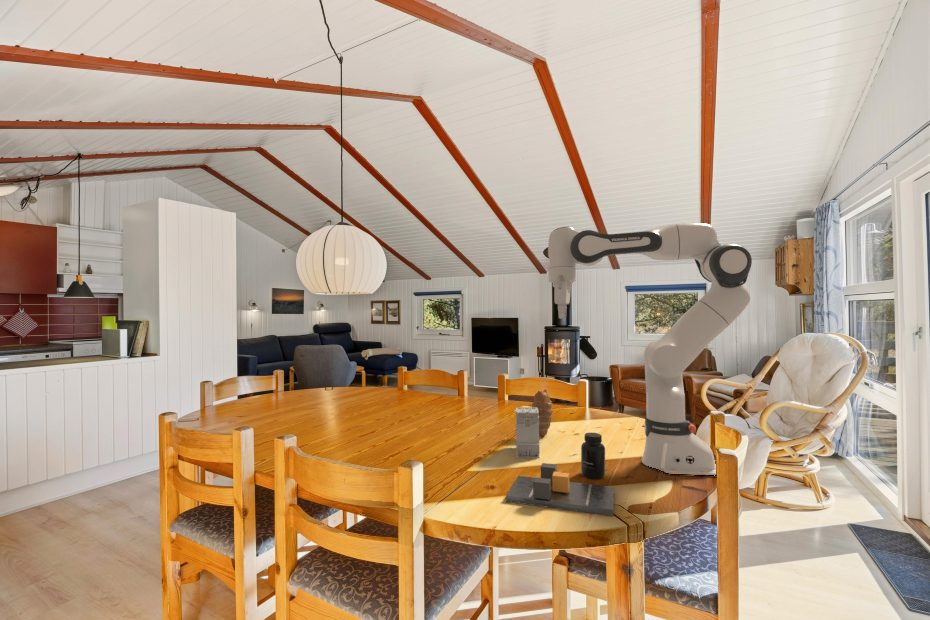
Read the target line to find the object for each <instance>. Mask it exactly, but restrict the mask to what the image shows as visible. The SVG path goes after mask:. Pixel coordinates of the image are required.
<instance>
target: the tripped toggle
mask: <svg viewBox="0 0 930 620" xmlns="http://www.w3.org/2000/svg"><path fill="white" fill-rule="evenodd" d="M569 482H570V473H569V472H561V471H557V472H554V473H553V475H552V489H553V491H557V492H565V493H568V492H569V489H570V485H569Z"/></svg>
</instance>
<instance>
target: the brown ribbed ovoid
mask: <svg viewBox="0 0 930 620" xmlns="http://www.w3.org/2000/svg"><path fill="white" fill-rule="evenodd" d="M547 392H548V391H547V388H544V390H541V391H540V390H538V391H537V392H536V393H535V394H534V396H533V401H532V403H531V407H537V408H538V411H539V437H545V436H547V434H548V431H549V428H550V427H551V423H552V416H553V410H552V408H553V401H552V400H551V397H550V396H549V393H547Z"/></svg>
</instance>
